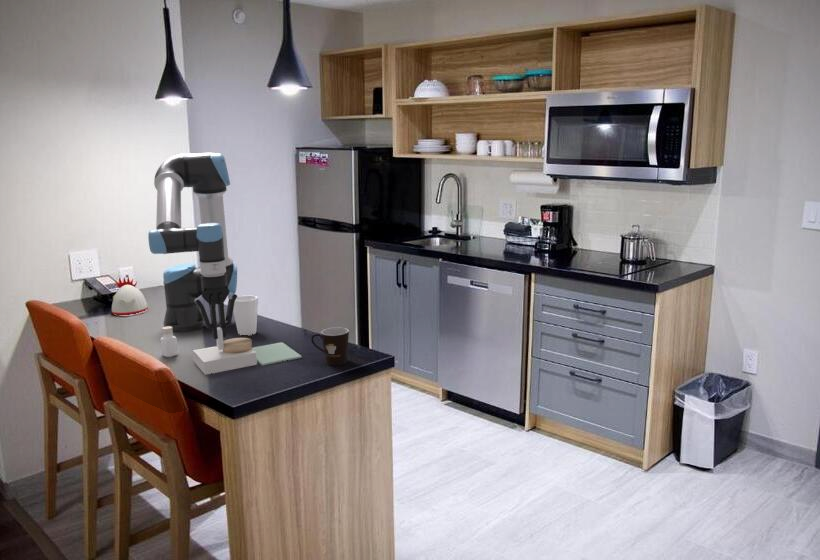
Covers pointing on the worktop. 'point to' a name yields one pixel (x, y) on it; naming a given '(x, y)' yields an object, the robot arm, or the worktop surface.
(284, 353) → the rubber mat
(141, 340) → the worktop surface
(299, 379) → the worktop surface
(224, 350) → the tan flat disc
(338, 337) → the coffee mug
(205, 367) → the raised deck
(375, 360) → the worktop surface
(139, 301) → the white dome hat
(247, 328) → the foam cup
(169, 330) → the pepper shaker
